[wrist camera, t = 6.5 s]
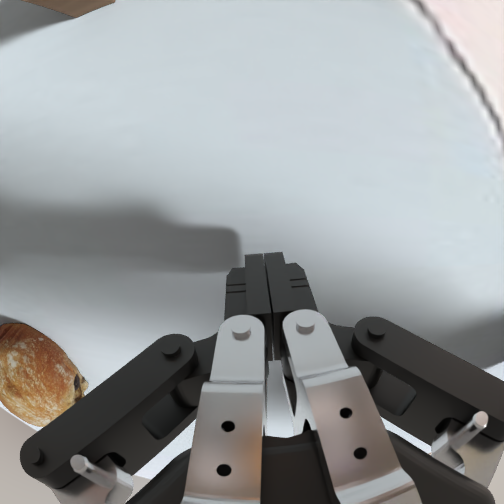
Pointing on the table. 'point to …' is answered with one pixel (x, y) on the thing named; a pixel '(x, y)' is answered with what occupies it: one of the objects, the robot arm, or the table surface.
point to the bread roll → (36, 375)
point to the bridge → (72, 5)
